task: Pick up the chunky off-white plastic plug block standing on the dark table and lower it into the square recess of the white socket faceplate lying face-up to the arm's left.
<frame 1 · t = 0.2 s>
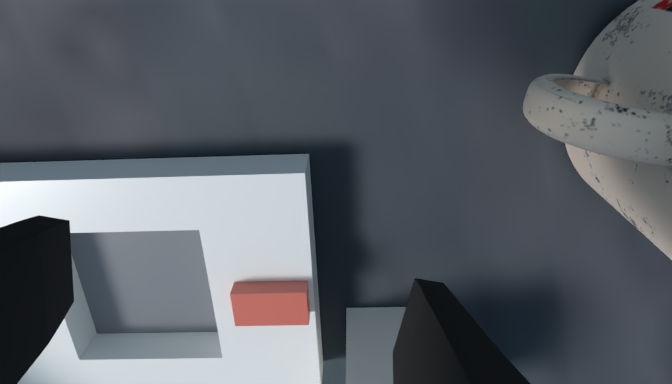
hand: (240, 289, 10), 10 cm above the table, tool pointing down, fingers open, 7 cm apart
teacup with lid: (636, 91, 18), on the table
plug: (393, 343, 23), on the table
socket plate: (152, 272, 22), on the table
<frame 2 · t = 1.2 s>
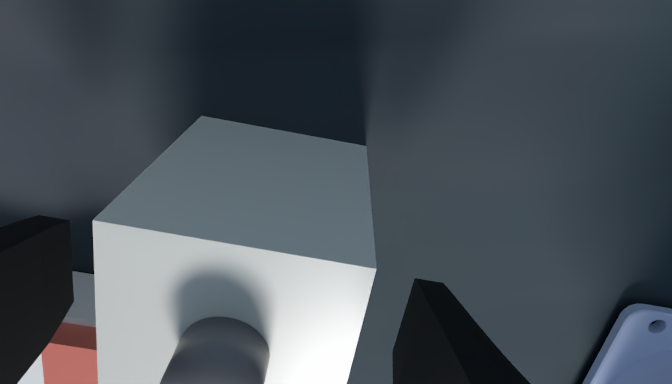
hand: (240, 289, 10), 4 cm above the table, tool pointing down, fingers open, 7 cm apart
plug: (274, 203, 14), on the table
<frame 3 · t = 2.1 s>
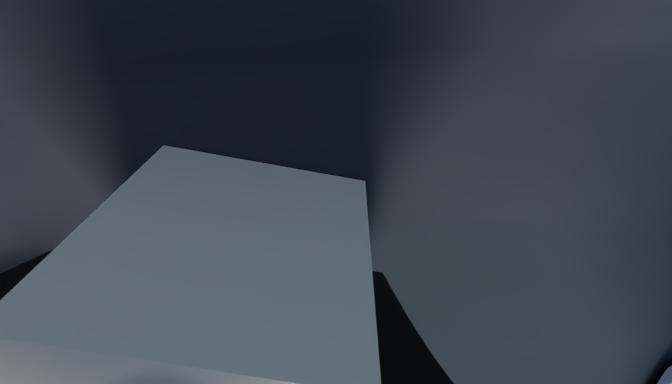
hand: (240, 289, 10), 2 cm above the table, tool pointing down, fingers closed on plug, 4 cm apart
plug: (254, 248, 12), on the table, touching gripper
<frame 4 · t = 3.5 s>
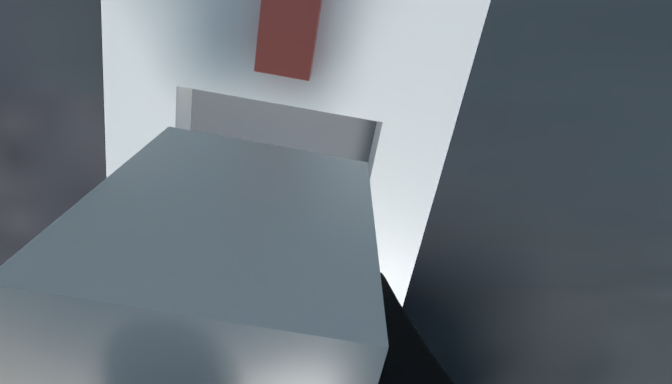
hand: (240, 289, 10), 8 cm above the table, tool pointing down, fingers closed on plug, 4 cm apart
plug: (257, 231, 12), point 7 cm above the table, touching gripper
socket plate: (277, 174, 18), on the table
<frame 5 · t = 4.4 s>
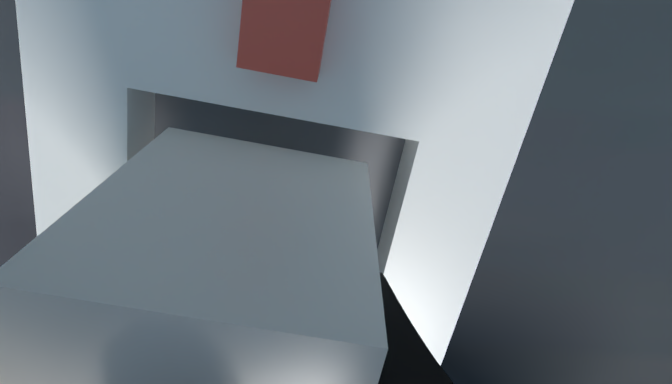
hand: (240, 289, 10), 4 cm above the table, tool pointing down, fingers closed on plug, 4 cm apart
plug: (257, 232, 12), point 2 cm above the table, touching gripper
socket plate: (270, 204, 14), on the table
when the fingers open (3 cm above the table, at t = 5.1 s): plug stays where it is, resting on socket plate.
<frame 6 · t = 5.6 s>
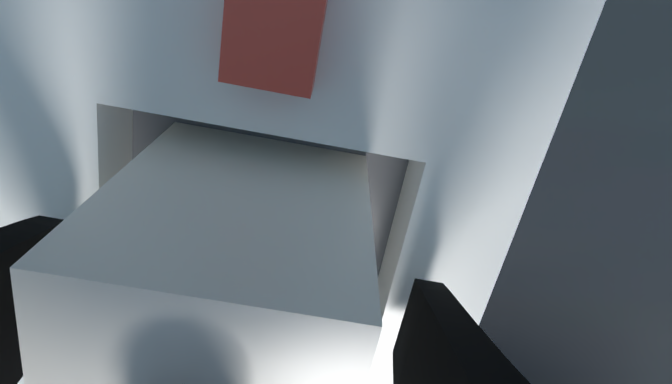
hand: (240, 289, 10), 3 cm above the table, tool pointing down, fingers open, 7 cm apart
plug: (260, 222, 12), resting on socket plate
socket plate: (261, 227, 13), on the table
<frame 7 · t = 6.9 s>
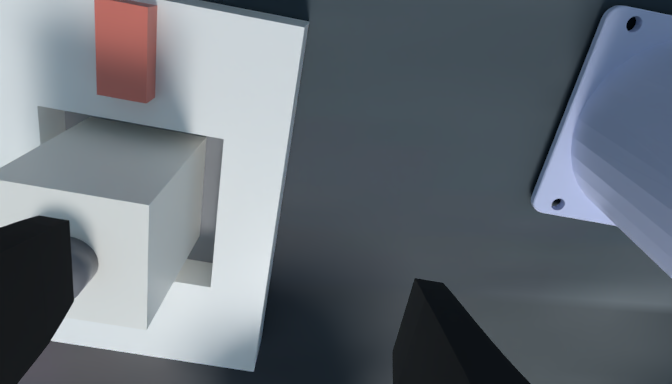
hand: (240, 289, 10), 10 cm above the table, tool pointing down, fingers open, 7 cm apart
plug: (147, 179, 20), resting on socket plate
socket plate: (150, 182, 20), on the table
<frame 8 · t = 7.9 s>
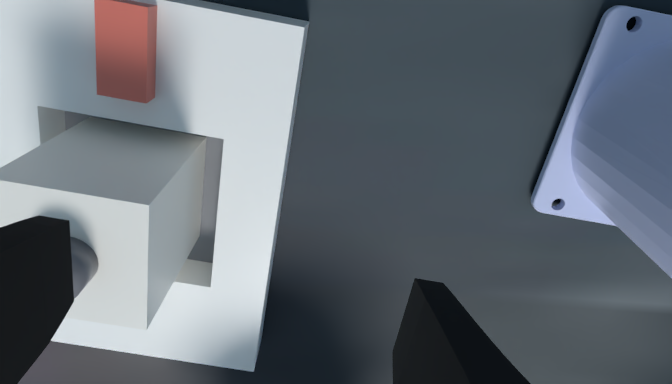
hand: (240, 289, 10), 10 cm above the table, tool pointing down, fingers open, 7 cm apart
plug: (147, 179, 20), resting on socket plate
socket plate: (150, 182, 20), on the table
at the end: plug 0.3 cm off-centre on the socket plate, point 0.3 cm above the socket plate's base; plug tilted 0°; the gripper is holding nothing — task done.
